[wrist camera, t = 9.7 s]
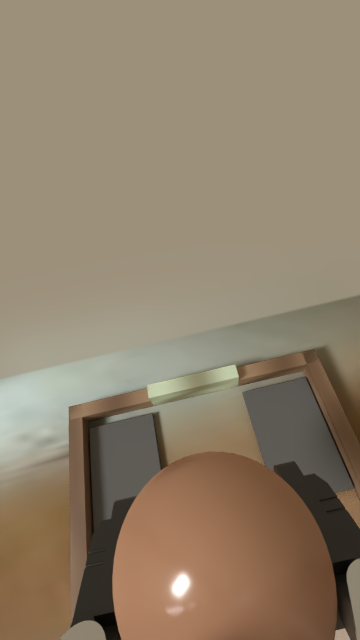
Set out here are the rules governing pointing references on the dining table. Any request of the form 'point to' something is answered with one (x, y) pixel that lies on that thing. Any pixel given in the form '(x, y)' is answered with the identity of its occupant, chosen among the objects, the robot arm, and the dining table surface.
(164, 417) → the dining table surface
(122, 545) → the terracotta jar
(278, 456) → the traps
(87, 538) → the box
